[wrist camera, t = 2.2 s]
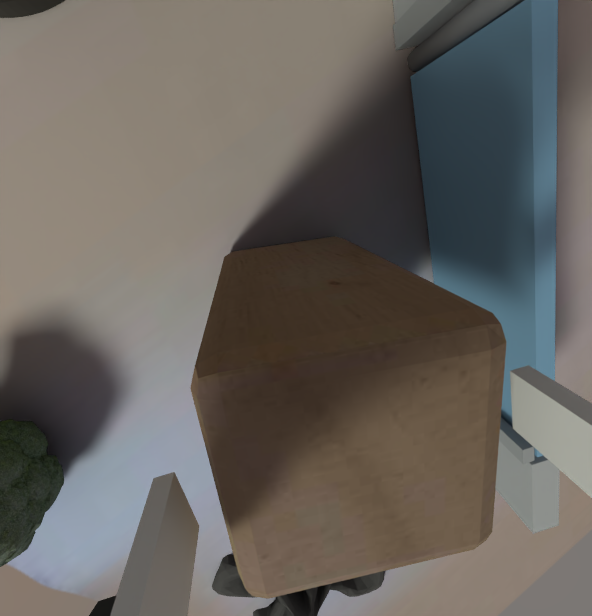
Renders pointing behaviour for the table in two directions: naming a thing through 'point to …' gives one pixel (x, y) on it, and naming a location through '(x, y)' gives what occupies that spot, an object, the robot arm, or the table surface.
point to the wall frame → (512, 446)
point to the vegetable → (24, 485)
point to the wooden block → (346, 414)
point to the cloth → (295, 606)
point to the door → (494, 168)
